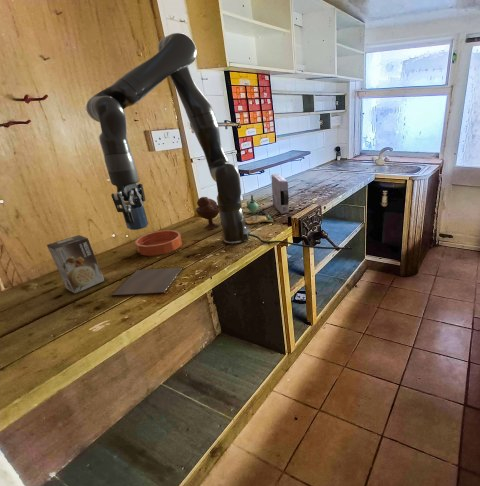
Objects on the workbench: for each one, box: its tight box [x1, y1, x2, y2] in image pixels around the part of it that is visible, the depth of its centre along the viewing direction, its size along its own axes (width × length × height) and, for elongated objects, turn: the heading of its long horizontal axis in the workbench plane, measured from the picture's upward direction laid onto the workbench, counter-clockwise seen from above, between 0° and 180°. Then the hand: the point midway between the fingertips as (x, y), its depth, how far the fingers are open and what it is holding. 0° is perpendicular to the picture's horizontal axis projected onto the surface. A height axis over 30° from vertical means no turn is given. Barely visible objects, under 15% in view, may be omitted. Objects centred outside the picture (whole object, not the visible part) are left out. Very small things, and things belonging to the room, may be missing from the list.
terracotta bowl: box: [134, 229, 183, 257], centre depth 129 cm, size 17×17×4 cm
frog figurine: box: [242, 194, 275, 225], centre depth 153 cm, size 10×18×15 cm, turn 67°
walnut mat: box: [111, 267, 183, 297], centre depth 105 cm, size 16×16×1 cm
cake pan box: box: [270, 173, 290, 215], centre depth 169 cm, size 19×5×18 cm, turn 23°
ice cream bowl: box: [195, 196, 219, 229], centre depth 147 cm, size 11×11×15 cm
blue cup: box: [121, 203, 149, 231], centre depth 102 cm, size 6×6×7 cm
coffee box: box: [46, 234, 105, 294], centre depth 101 cm, size 9×6×16 cm
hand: (136, 219), depth 102 cm, fingers closed on blue cup, 6 cm apart
